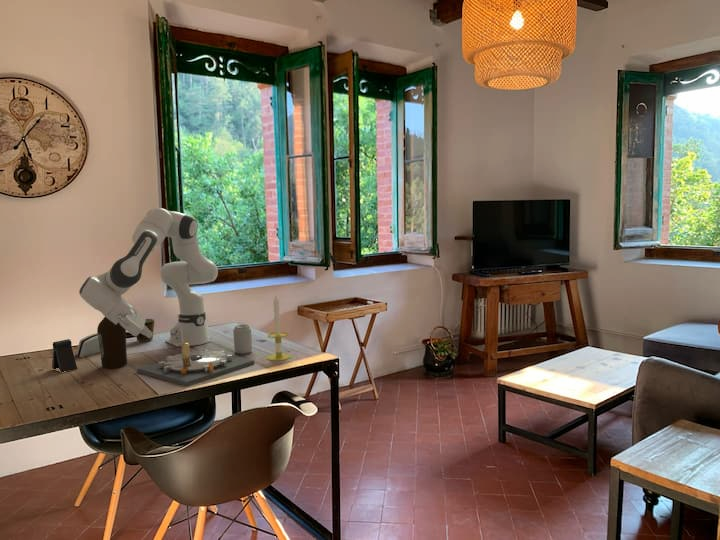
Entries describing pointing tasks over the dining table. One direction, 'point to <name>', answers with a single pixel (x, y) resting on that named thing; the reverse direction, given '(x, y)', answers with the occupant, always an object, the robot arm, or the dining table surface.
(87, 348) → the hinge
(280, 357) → the candle
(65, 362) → the door stopper
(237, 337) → the can
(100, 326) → the olive oil
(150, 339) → the ceramic cup
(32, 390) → the dining table surface
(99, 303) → the robot arm
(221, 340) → the dining table surface
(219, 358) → the sprocket
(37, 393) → the dining table surface
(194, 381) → the index plate
